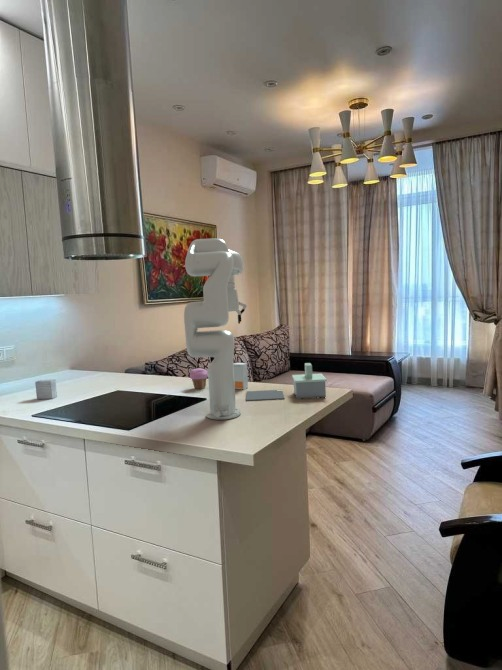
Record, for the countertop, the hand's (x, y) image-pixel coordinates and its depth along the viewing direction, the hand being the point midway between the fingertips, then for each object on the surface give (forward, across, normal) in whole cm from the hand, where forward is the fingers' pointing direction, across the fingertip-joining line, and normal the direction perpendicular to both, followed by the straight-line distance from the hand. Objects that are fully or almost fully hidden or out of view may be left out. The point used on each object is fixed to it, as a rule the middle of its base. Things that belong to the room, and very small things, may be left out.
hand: (228, 324), depth 204 cm
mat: (+31, +15, -16) cm, 38 cm away
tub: (+31, +34, -20) cm, 50 cm away
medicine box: (+31, -88, +2) cm, 94 cm away
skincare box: (+31, +4, +1) cm, 31 cm away
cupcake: (+31, -16, +6) cm, 35 cm away
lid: (+24, +34, -20) cm, 46 cm away
